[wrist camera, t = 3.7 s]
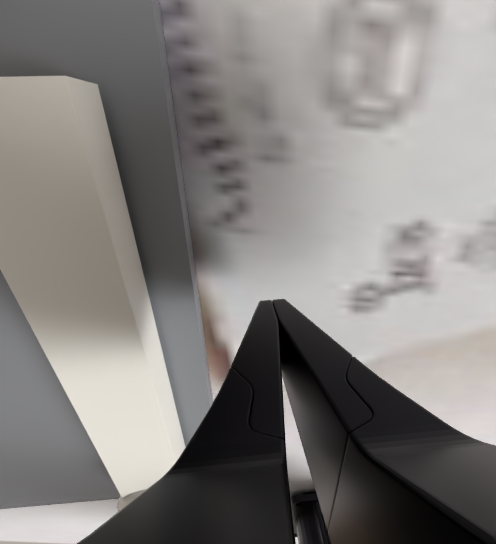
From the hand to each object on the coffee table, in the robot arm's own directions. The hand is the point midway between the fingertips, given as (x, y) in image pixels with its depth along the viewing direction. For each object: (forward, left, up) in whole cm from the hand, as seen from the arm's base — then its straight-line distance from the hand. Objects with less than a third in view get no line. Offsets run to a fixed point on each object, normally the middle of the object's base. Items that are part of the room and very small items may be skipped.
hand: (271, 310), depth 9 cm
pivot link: (-3, +6, -1) cm, 7 cm away
